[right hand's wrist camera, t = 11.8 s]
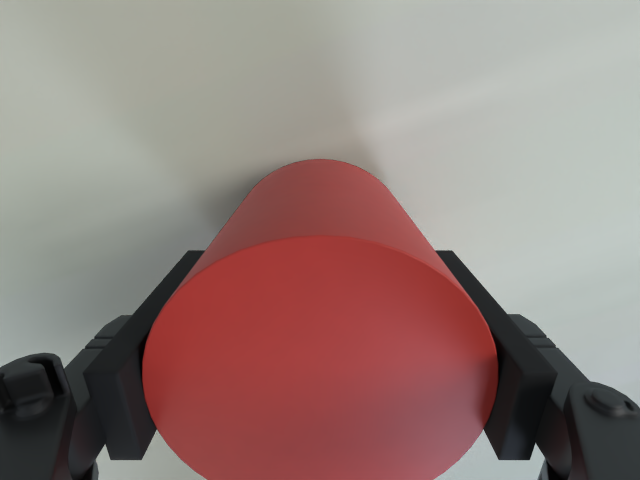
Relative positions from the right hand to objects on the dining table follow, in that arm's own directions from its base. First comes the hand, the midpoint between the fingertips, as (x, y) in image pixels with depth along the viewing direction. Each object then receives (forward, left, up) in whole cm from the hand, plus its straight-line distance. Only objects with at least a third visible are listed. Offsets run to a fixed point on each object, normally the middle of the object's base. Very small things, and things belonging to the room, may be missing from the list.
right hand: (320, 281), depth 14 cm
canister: (0, 0, -4) cm, 4 cm away
